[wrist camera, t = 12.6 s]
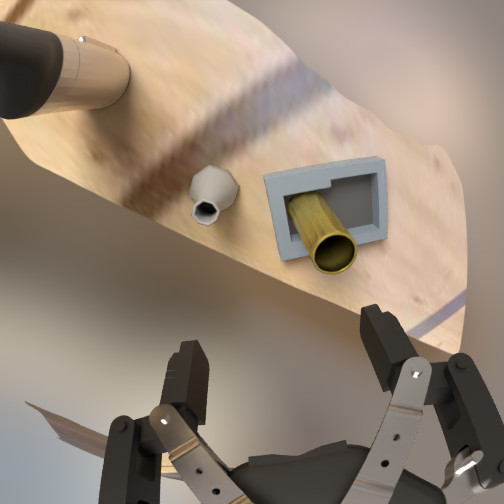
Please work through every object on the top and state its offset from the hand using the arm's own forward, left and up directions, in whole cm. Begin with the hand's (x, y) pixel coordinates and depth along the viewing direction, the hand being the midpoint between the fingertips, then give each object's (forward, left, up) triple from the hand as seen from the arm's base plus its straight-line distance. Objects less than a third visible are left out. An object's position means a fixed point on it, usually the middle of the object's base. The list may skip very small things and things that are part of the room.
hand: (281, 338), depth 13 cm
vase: (+6, +7, -30) cm, 31 cm away
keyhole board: (+6, +11, -30) cm, 32 cm away
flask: (0, -6, -30) cm, 31 cm away
